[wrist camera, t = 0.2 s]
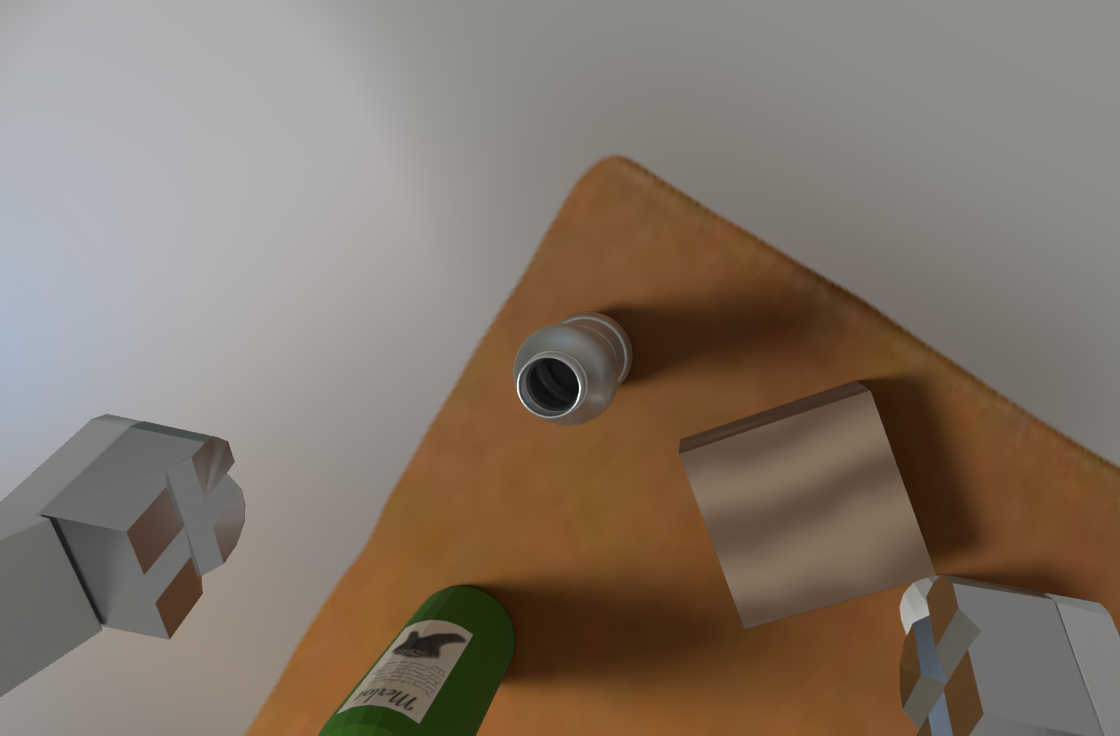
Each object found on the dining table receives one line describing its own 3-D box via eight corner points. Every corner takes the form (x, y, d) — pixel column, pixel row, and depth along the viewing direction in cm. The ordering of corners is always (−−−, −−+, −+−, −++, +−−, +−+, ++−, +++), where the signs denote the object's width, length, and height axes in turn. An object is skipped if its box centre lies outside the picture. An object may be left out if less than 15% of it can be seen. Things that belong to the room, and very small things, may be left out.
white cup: (872, 603, 62) (894, 644, 55) (944, 549, 61) (976, 585, 54) (931, 669, 62) (961, 719, 55) (1005, 617, 61) (1045, 661, 54)
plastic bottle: (567, 297, 63) (511, 310, 44) (648, 328, 62) (626, 354, 43) (540, 372, 64) (473, 417, 45) (618, 403, 64) (585, 463, 44)
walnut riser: (916, 550, 61) (936, 575, 56) (740, 601, 64) (744, 629, 59) (856, 380, 60) (870, 390, 55) (680, 439, 63) (679, 453, 58)
